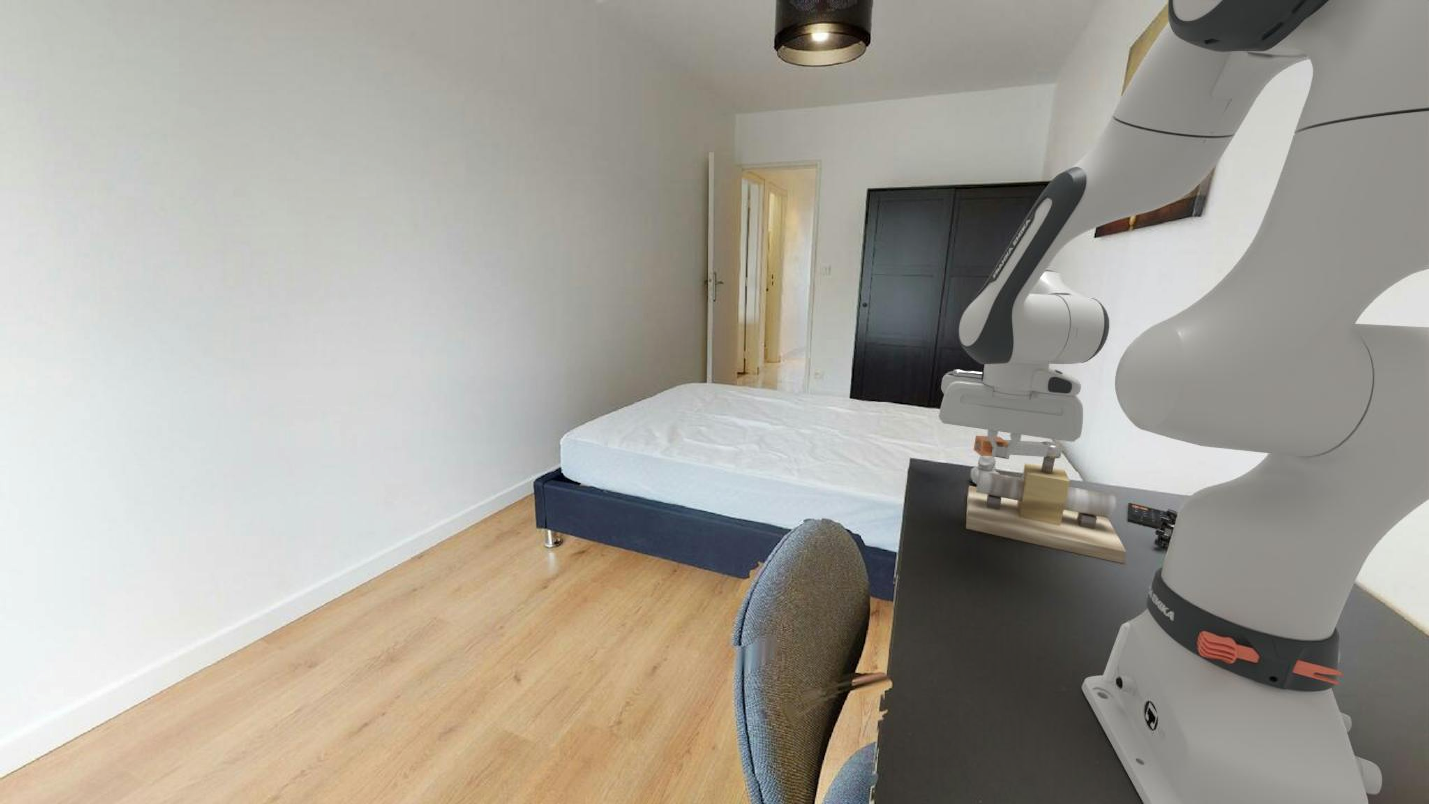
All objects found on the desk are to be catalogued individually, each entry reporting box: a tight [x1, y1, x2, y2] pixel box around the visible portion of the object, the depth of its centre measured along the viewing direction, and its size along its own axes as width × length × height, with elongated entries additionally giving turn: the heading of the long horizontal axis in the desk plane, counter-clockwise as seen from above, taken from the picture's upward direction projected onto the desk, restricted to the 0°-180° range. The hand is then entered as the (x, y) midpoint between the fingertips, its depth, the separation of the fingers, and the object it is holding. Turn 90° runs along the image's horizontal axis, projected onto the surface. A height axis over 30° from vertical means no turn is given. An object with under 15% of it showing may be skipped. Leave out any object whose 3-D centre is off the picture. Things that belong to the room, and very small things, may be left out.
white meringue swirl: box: [970, 455, 1000, 485], centre depth 107 cm, size 5×7×8 cm
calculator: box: [1126, 502, 1176, 530], centre depth 93 cm, size 9×12×3 cm
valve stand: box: [965, 457, 1127, 564], centre depth 89 cm, size 16×22×13 cm
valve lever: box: [973, 435, 1063, 459], centre depth 88 cm, size 14×3×3 cm, turn 86°
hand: (999, 457), depth 86 cm, fingers closed
